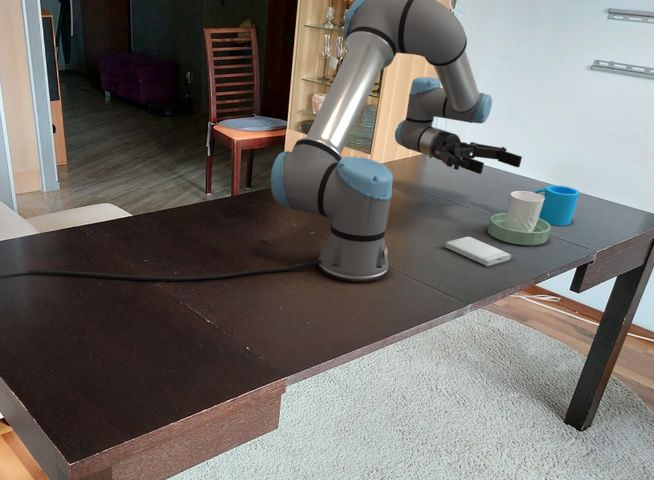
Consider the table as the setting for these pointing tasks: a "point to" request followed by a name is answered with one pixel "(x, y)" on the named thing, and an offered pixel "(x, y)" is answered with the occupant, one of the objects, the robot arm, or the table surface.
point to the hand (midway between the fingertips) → (501, 165)
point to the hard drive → (478, 251)
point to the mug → (558, 204)
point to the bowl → (518, 237)
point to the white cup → (523, 210)
